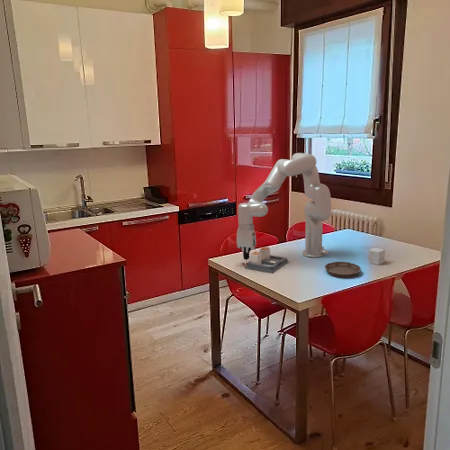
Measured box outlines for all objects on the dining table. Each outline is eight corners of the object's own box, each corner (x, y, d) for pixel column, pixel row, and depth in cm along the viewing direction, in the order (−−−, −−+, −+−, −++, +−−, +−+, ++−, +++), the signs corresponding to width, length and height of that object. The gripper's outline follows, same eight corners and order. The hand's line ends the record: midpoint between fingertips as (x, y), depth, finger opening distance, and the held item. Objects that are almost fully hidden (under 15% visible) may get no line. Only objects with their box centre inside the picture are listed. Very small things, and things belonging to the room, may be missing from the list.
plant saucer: (361, 280, 210) (361, 274, 209) (323, 277, 215) (323, 272, 214) (360, 268, 226) (360, 262, 226) (325, 266, 231) (325, 260, 230)
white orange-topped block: (270, 258, 241) (269, 247, 240) (266, 260, 238) (266, 249, 236) (263, 257, 244) (263, 246, 242) (259, 259, 240) (259, 248, 238)
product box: (384, 262, 233) (385, 249, 231) (378, 265, 229) (379, 252, 227) (374, 260, 237) (374, 247, 236) (368, 262, 233) (368, 249, 232)
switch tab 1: (261, 263, 233) (261, 252, 232) (257, 266, 230) (257, 254, 228) (255, 262, 235) (254, 251, 234) (250, 264, 232) (250, 253, 230)
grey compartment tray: (288, 262, 239) (288, 257, 238) (272, 273, 222) (271, 267, 222) (262, 258, 247) (262, 253, 246) (245, 268, 231) (245, 263, 230)
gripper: (261, 226, 230) (261, 259, 234) (237, 223, 238) (238, 255, 242) (254, 229, 224) (254, 263, 228) (230, 226, 232) (231, 258, 236)
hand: (246, 258), depth 235 cm, fingers closed
